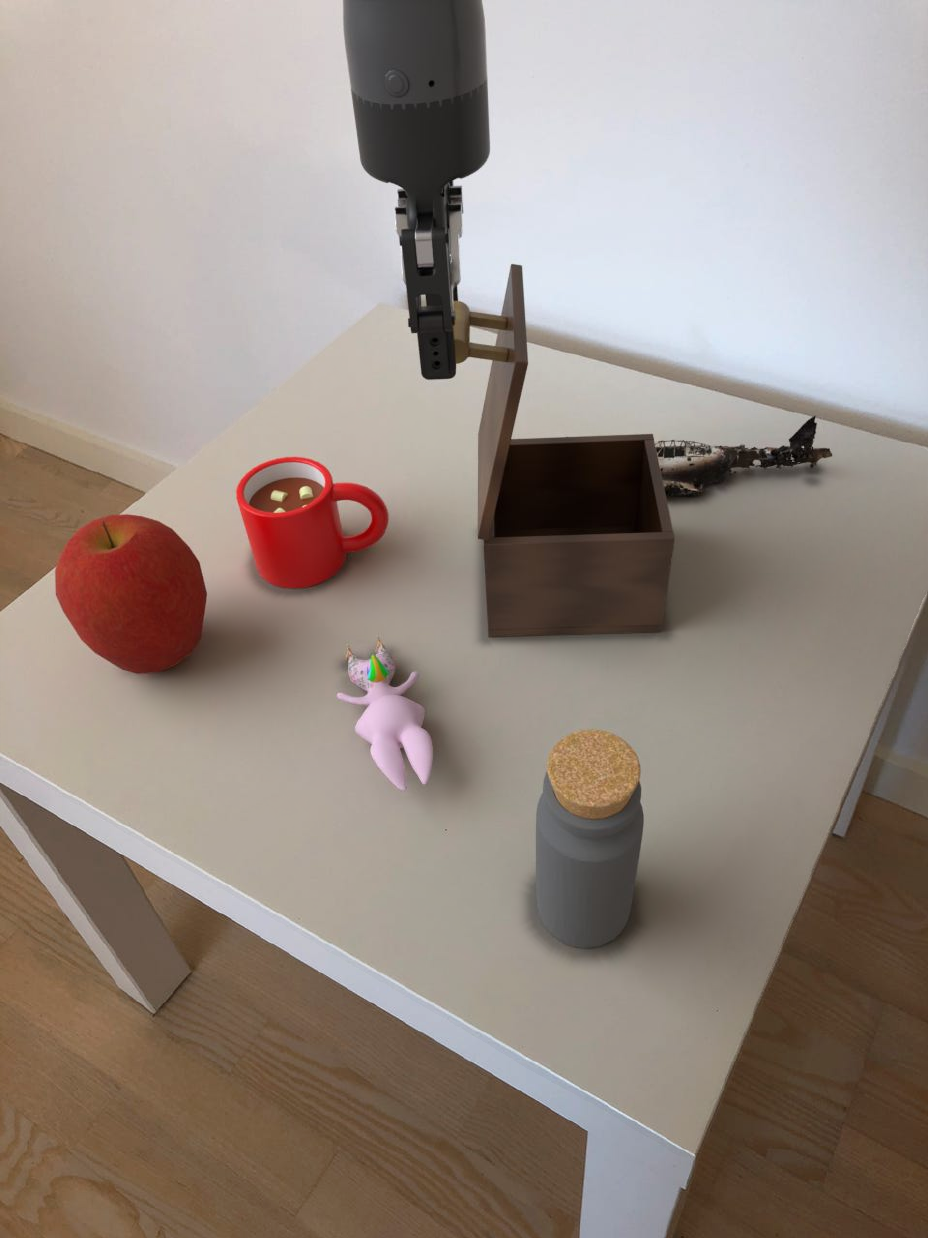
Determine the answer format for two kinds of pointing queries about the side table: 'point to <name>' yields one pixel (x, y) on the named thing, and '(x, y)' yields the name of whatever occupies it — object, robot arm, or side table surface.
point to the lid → (496, 387)
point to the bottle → (588, 838)
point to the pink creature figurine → (389, 718)
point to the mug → (302, 520)
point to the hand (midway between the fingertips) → (441, 341)
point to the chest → (579, 538)
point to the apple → (132, 592)
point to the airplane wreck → (730, 460)
